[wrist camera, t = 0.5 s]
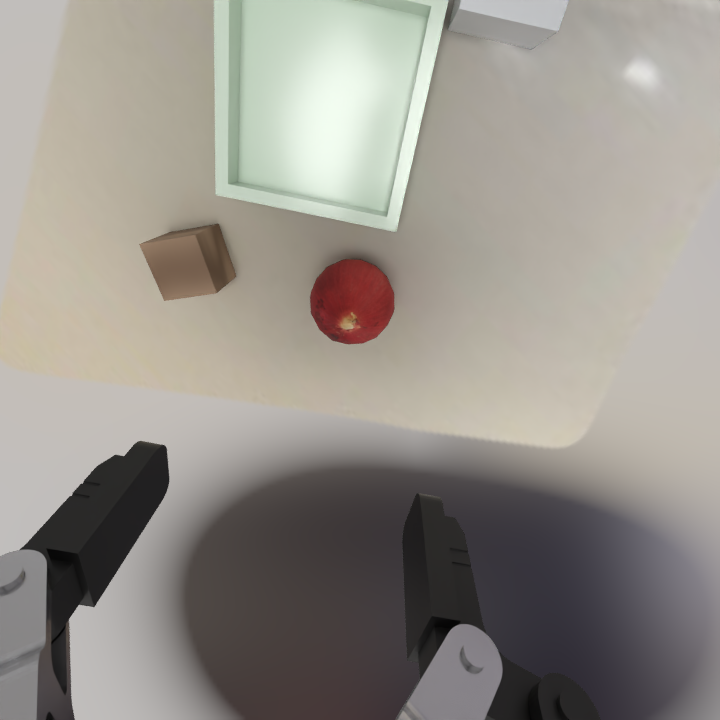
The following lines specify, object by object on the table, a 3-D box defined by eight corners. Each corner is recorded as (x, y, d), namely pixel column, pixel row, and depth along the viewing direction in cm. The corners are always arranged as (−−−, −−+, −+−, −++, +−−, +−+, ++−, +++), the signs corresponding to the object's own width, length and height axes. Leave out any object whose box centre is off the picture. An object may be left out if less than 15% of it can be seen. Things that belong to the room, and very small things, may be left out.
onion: (358, 332, 31) (350, 385, 24) (304, 286, 30) (279, 330, 23) (408, 283, 29) (415, 327, 22) (353, 231, 27) (342, 260, 20)
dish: (231, -45, 20) (213, -67, 18) (444, 5, 21) (451, -12, 19) (229, 190, 26) (215, 194, 24) (395, 225, 27) (396, 232, 25)
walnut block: (169, 232, 28) (139, 244, 25) (219, 223, 28) (195, 234, 24) (189, 282, 30) (164, 300, 27) (236, 275, 30) (216, 293, 26)
